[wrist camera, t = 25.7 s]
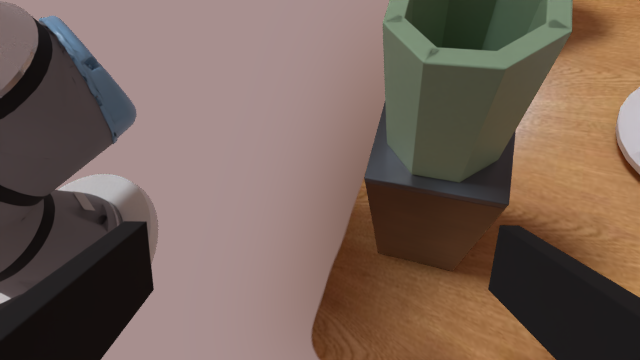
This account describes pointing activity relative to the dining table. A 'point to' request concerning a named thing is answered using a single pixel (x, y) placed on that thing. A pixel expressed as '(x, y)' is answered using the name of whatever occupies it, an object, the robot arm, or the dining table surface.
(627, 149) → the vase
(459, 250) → the stand
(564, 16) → the green octagonal tube
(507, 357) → the dining table surface
